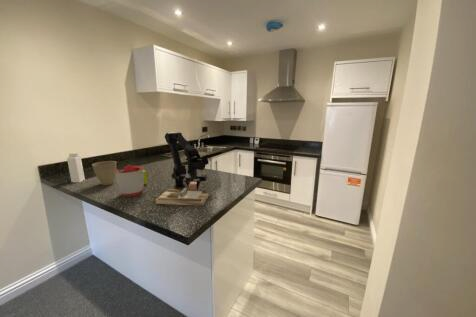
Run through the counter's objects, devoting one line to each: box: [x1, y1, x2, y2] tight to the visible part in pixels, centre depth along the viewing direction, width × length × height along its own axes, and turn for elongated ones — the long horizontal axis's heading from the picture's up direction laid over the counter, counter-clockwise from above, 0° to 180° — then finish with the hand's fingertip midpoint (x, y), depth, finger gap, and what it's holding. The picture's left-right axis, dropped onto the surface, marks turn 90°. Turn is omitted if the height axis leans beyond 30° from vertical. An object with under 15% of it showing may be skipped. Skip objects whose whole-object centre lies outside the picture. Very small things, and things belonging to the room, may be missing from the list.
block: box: [187, 181, 197, 190], centre depth 131 cm, size 5×5×6 cm
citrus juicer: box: [115, 164, 145, 198], centre depth 126 cm, size 16×17×20 cm
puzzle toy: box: [143, 169, 148, 185], centre depth 145 cm, size 10×10×10 cm
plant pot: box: [91, 160, 117, 186], centre depth 145 cm, size 15×15×16 cm
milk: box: [66, 153, 85, 183], centre depth 150 cm, size 6×6×22 cm
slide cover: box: [179, 187, 202, 199], centre depth 117 cm, size 11×11×4 cm
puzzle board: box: [155, 188, 210, 207], centre depth 118 cm, size 14×28×4 cm, turn 84°
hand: (193, 189), depth 131 cm, fingers closed on block, 5 cm apart
